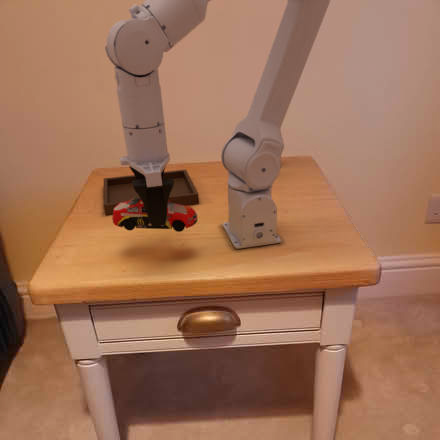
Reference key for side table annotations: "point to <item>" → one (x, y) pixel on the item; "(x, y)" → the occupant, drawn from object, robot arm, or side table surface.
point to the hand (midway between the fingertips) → (156, 215)
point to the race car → (137, 216)
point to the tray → (124, 191)
